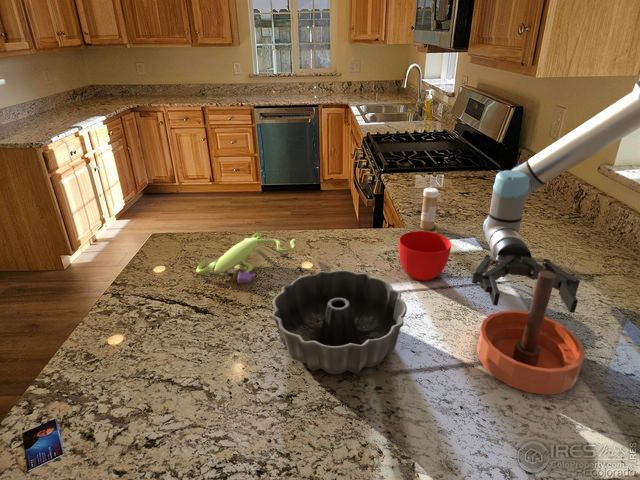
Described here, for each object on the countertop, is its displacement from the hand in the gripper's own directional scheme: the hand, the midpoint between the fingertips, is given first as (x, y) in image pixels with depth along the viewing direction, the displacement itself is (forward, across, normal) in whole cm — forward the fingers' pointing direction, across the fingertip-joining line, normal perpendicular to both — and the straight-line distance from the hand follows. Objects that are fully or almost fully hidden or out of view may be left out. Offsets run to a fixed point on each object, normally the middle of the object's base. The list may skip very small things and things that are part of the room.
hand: (534, 303), depth 79 cm
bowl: (+3, 0, -12) cm, 12 cm away
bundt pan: (+3, +37, -12) cm, 39 cm away
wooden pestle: (+3, 0, -11) cm, 12 cm away
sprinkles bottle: (-58, +16, -12) cm, 62 cm away
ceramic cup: (-30, +18, -12) cm, 37 cm away
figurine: (-27, +66, -12) cm, 72 cm away
